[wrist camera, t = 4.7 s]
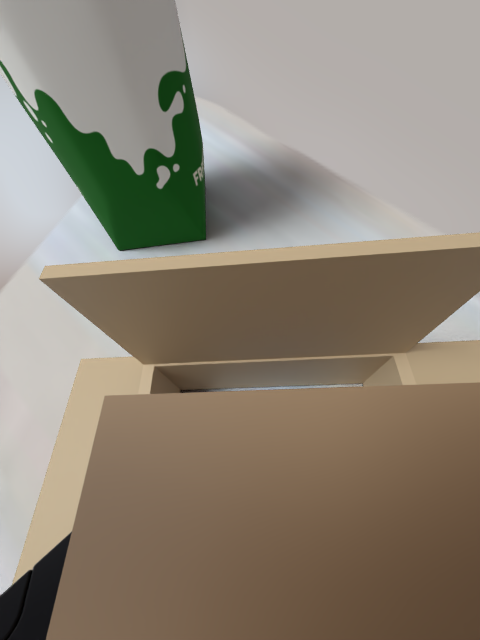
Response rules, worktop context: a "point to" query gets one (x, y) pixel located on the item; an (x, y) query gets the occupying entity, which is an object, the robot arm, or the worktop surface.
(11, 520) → the worktop surface
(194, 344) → the cardboard carton
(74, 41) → the milk carton
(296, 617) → the walnut box
